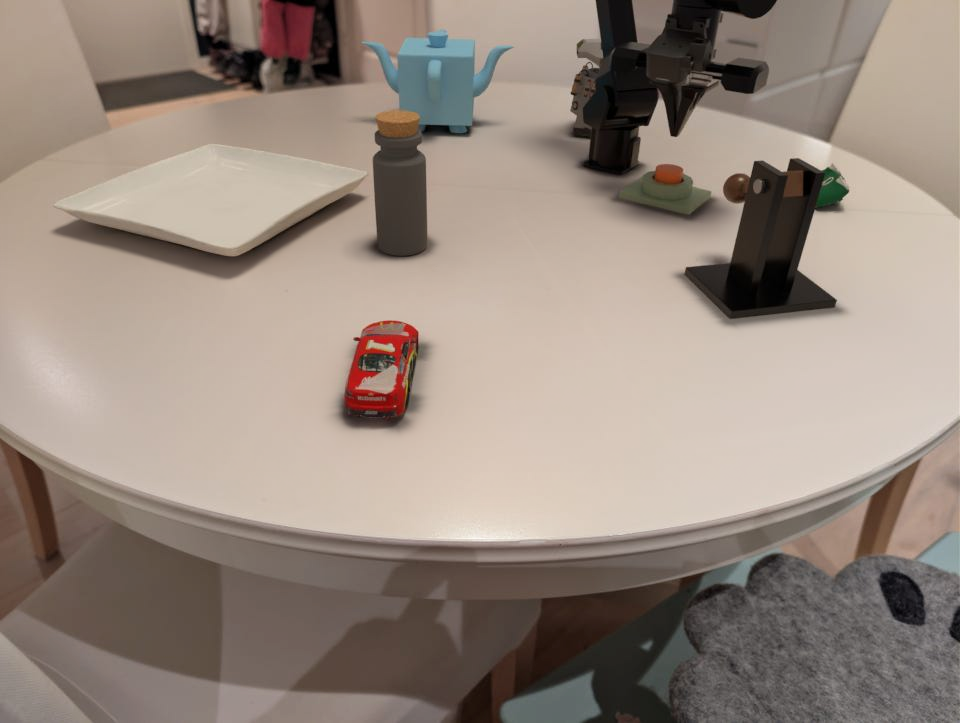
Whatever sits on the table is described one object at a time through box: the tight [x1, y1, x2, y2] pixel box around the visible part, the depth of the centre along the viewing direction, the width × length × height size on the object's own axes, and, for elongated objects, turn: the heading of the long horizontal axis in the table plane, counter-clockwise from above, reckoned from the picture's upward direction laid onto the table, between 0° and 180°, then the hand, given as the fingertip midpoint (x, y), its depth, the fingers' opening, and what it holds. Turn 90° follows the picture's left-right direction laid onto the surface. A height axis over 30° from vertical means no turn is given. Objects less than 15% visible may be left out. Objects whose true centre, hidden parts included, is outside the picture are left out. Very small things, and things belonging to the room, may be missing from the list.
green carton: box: [815, 162, 850, 209], centre depth 101 cm, size 9×4×6 cm
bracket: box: [684, 157, 838, 320], centre depth 75 cm, size 10×12×14 cm
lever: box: [722, 170, 803, 205], centre depth 76 cm, size 11×3×3 cm, turn 14°
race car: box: [344, 319, 419, 419], centre depth 63 cm, size 13×5×4 cm, turn 177°
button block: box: [618, 170, 712, 216], centre depth 100 cm, size 10×8×3 cm
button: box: [654, 163, 684, 184], centre depth 99 cm, size 4×4×2 cm
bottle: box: [372, 109, 428, 257], centre depth 83 cm, size 6×6×15 cm
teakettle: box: [361, 29, 515, 134], centre depth 125 cm, size 19×19×15 cm
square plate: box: [52, 143, 369, 257], centre depth 93 cm, size 27×27×4 cm
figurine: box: [569, 38, 640, 139], centre depth 123 cm, size 9×12×15 cm
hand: (674, 136), depth 96 cm, fingers closed
